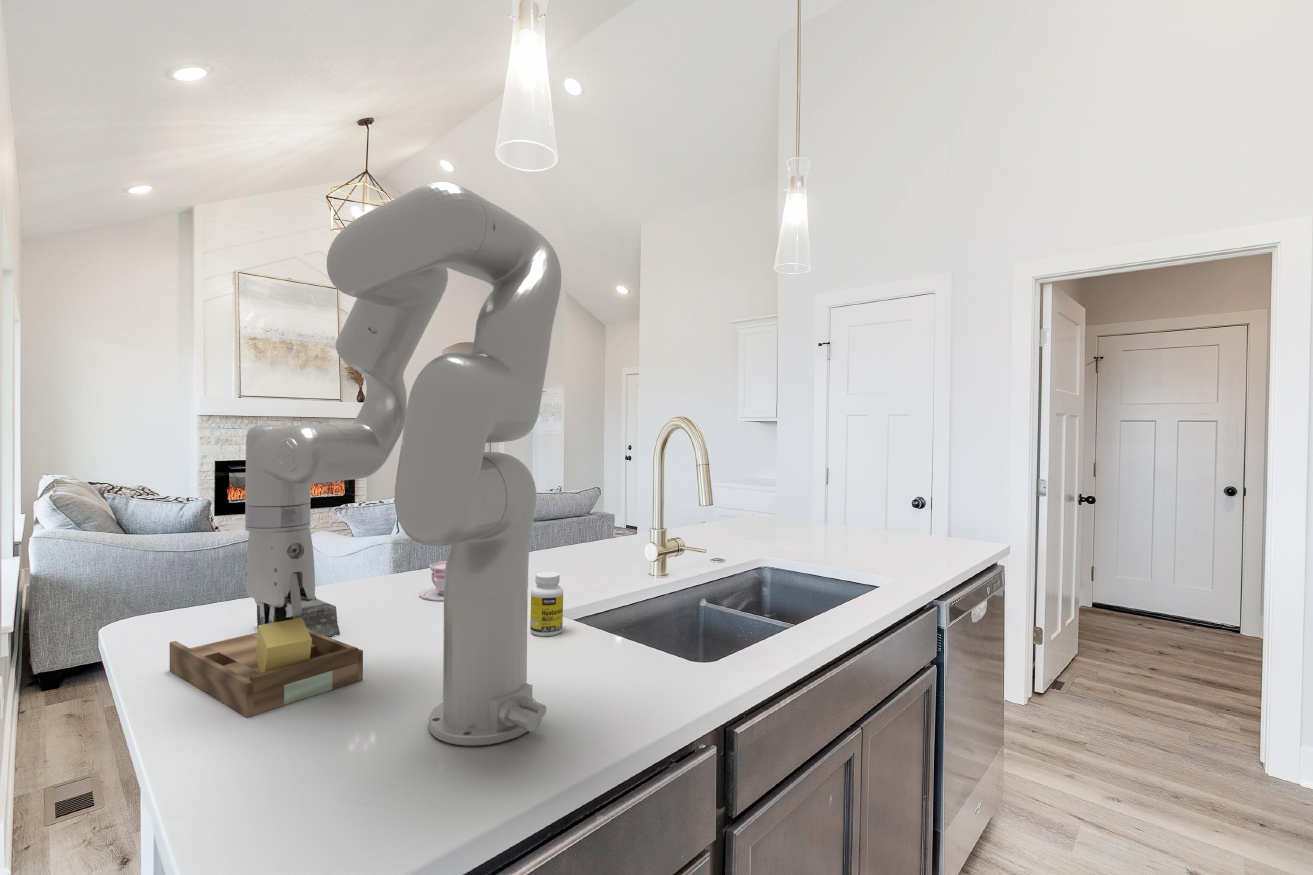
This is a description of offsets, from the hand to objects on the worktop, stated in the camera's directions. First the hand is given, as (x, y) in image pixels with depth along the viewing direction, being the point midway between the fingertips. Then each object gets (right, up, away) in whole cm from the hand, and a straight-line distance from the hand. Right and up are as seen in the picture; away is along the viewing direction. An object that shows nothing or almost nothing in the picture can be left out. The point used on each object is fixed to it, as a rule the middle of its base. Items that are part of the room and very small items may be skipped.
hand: (277, 653), depth 87 cm
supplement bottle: (+32, -4, +23) cm, 40 cm away
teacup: (+8, -4, +46) cm, 47 cm away
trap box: (-3, -4, +2) cm, 5 cm away
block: (+2, -1, -3) cm, 4 cm away
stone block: (-9, -4, +22) cm, 24 cm away
